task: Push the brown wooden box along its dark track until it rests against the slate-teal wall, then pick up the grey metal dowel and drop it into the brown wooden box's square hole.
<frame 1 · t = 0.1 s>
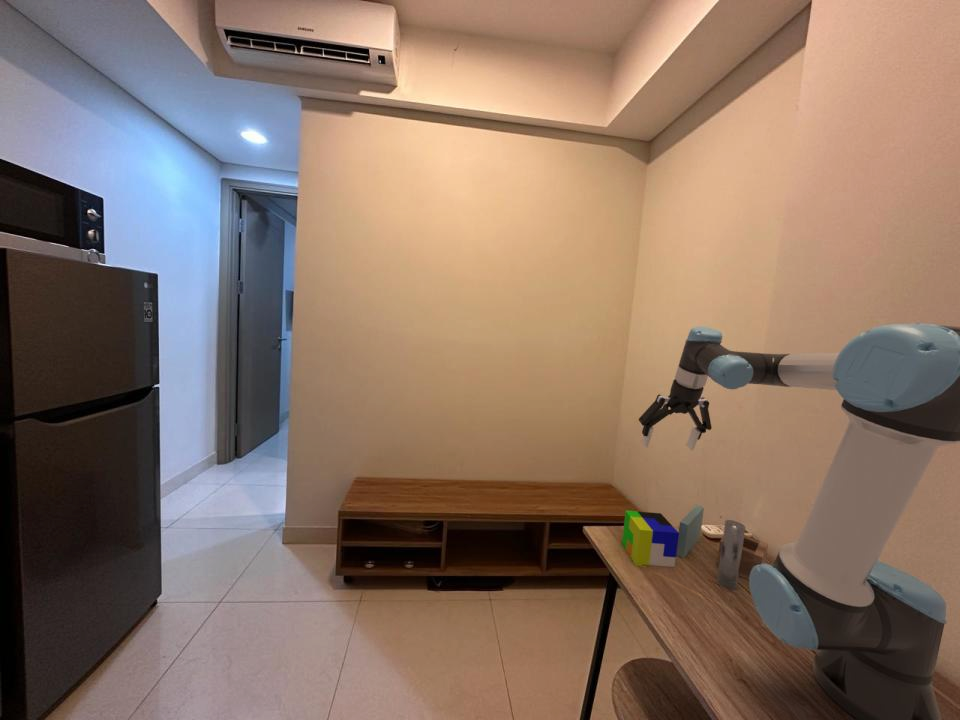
hand: (667, 445, 109), 28 cm above the table, tool tilted 20°, fingers open, 13 cm apart
puzzle toy: (646, 556, 101), on the table
dowel: (726, 586, 90), on the table
backstop: (726, 563, 100), on the table
brown wooden box: (742, 555, 97), point 4 cm above the table, slide at 0.0 cm
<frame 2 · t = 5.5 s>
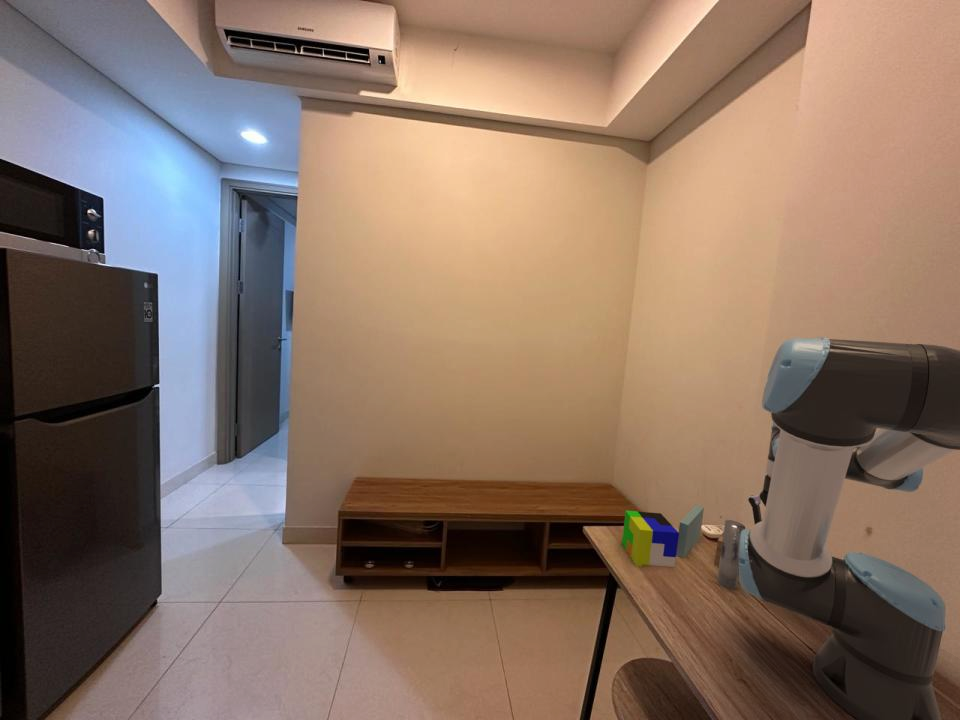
hand: (770, 568, 93), 4 cm above the table, tool pointing down, fingers closed
brown wooden box: (739, 554, 97), point 4 cm above the table, slide at 0.5 cm, touching gripper
everything else where it was.
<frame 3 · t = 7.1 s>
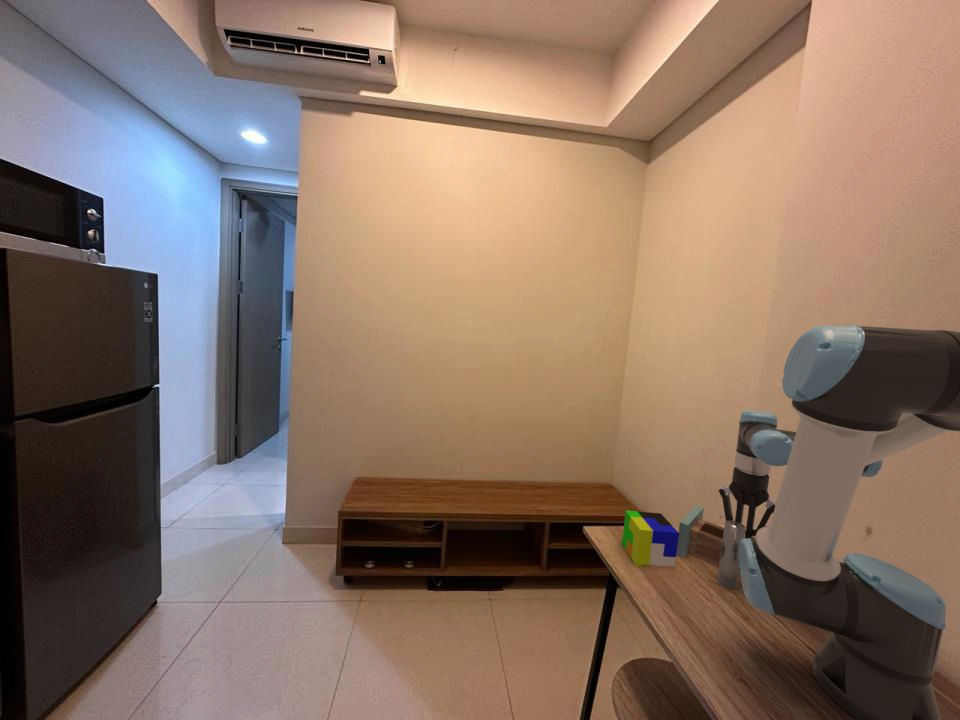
hand: (739, 555, 98), 4 cm above the table, tool pointing down, fingers closed
brown wooden box: (711, 542, 102), point 4 cm above the table, slide at 7.0 cm, touching backstop, gripper
everything else where it was.
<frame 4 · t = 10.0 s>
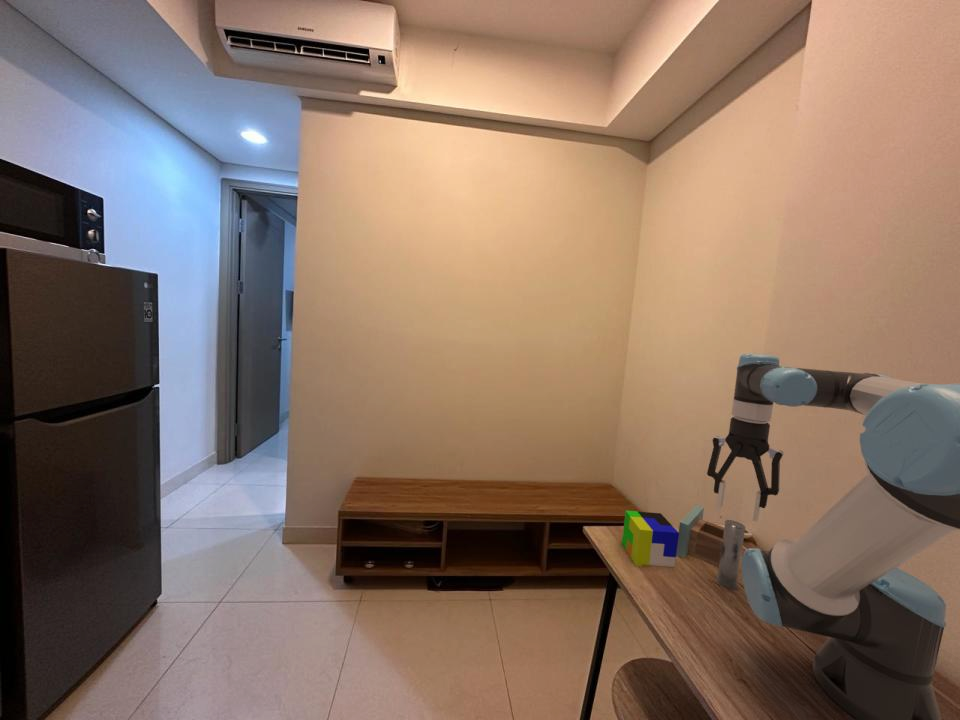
hand: (737, 512, 89), 19 cm above the table, tool pointing down, fingers open, 7 cm apart
brown wooden box: (711, 542, 102), point 4 cm above the table, slide at 7.0 cm
everything else where it was.
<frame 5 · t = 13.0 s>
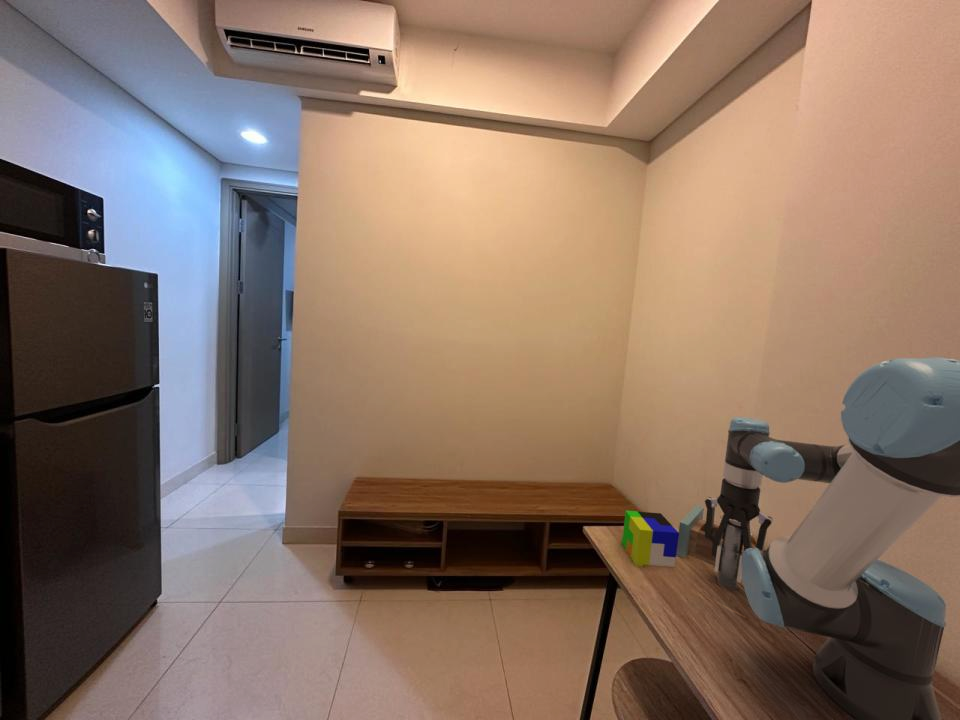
hand: (728, 574, 90), 3 cm above the table, tool pointing down, fingers closed on dowel, 4 cm apart
dowel: (726, 586, 90), on the table, touching gripper
everything else where it was.
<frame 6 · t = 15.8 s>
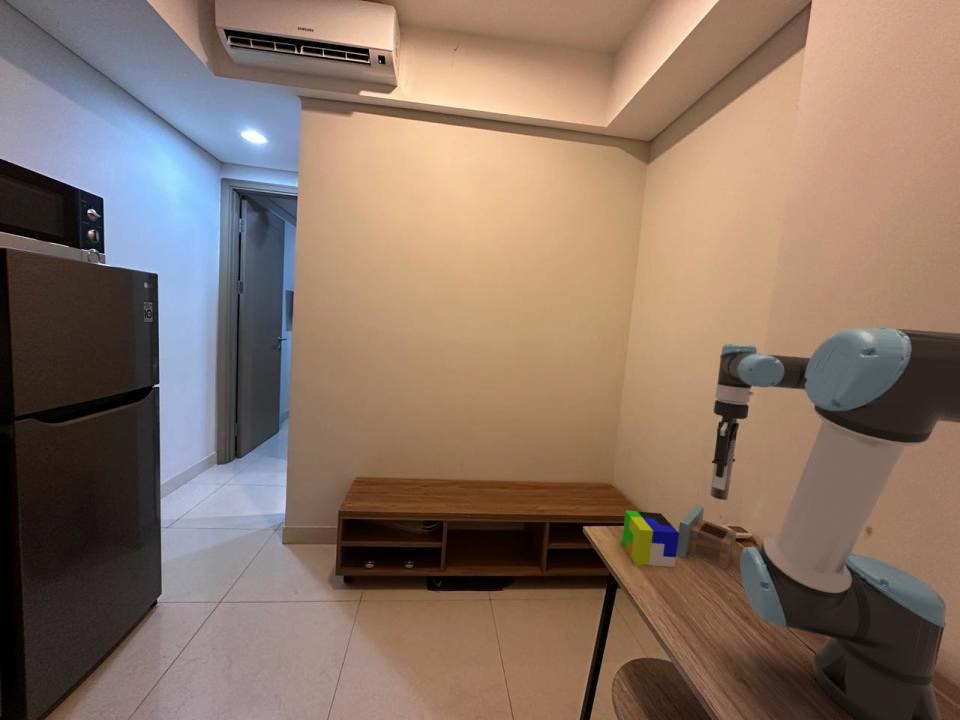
hand: (720, 485, 100), 21 cm above the table, tool pointing down, fingers closed on dowel, 4 cm apart
dowel: (718, 496, 101), point 18 cm above the table, touching gripper
everything else where it was.
when the fingers open (9 cm above the table, at t = 19.1 s): dowel drops 4 cm, resting on brown wooden box.
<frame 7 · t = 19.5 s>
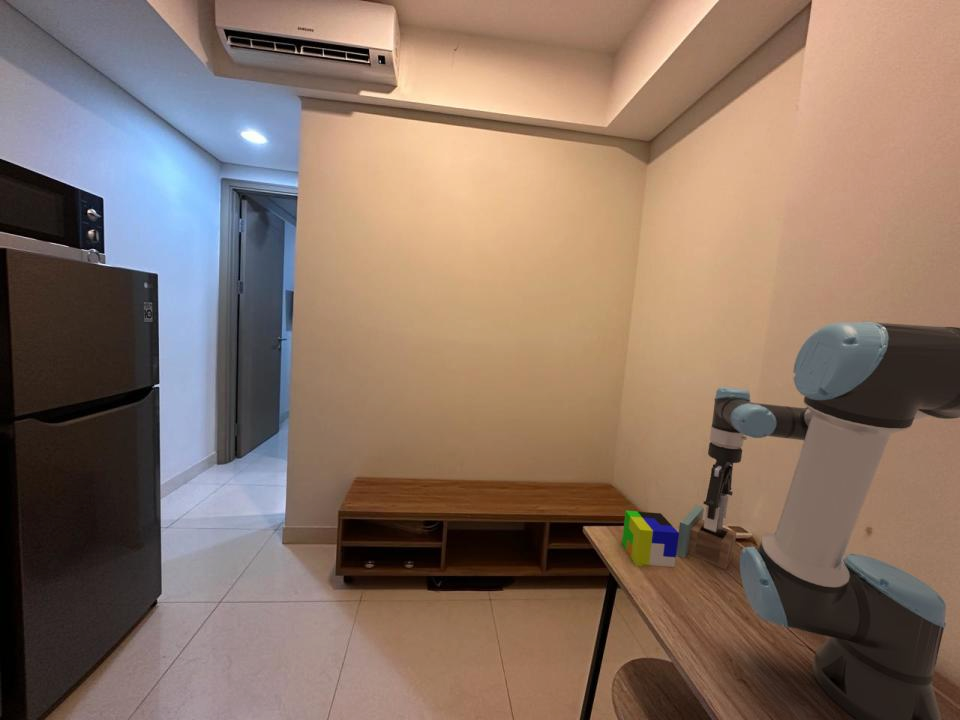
hand: (715, 522, 101), 10 cm above the table, tool pointing down, fingers open, 10 cm apart
dowel: (711, 551, 102), point 2 cm above the table, touching brown wooden box
brown wooden box: (711, 542, 102), point 4 cm above the table, slide at 7.0 cm, touching dowel
everything else where it was.
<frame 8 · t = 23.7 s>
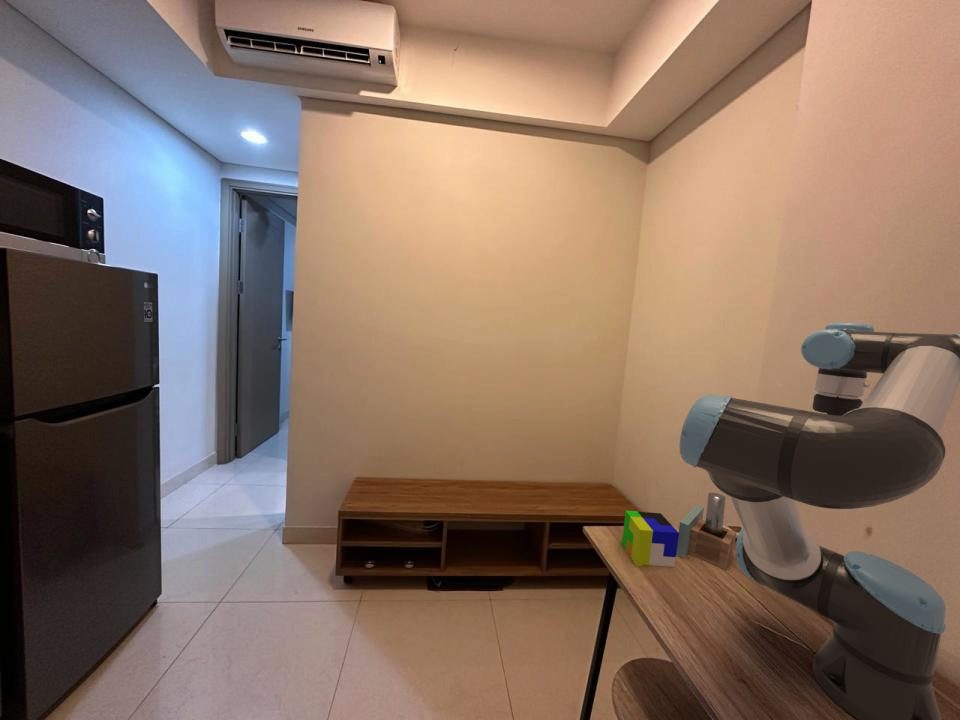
hand: (822, 490, 81), 29 cm above the table, tool pointing down, fingers open, 13 cm apart
at the end: brown wooden box slide at 7.0 cm; dowel 0.1 cm off-centre on the brown wooden box, point 1.1 cm above the brown wooden box's base; dowel tilted 2° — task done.
